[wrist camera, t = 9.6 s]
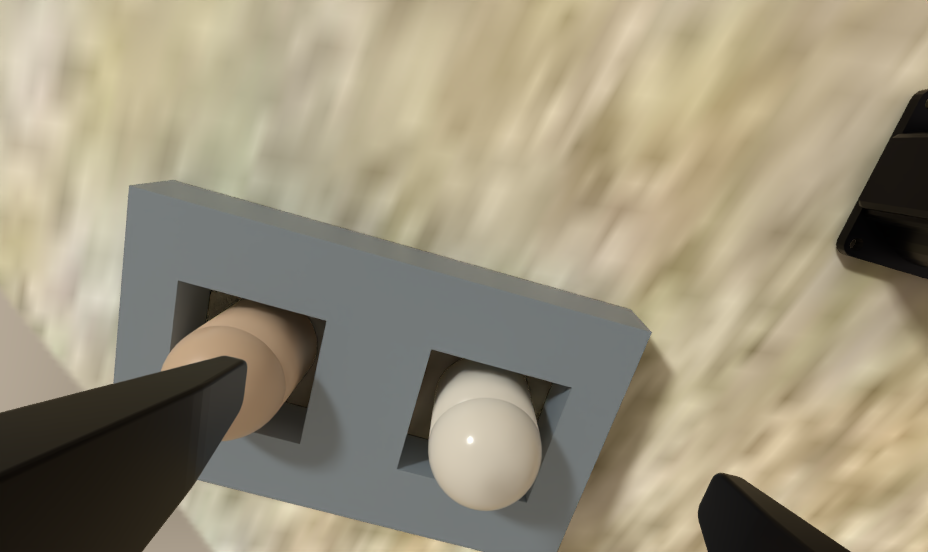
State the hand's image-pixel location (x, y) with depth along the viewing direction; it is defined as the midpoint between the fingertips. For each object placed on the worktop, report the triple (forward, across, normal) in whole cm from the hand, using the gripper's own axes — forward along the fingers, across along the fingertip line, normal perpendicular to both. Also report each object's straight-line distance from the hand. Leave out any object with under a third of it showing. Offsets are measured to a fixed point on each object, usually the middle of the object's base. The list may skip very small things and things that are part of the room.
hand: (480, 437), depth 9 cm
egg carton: (+12, +3, +6) cm, 13 cm away
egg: (+12, -2, +6) cm, 13 cm away
